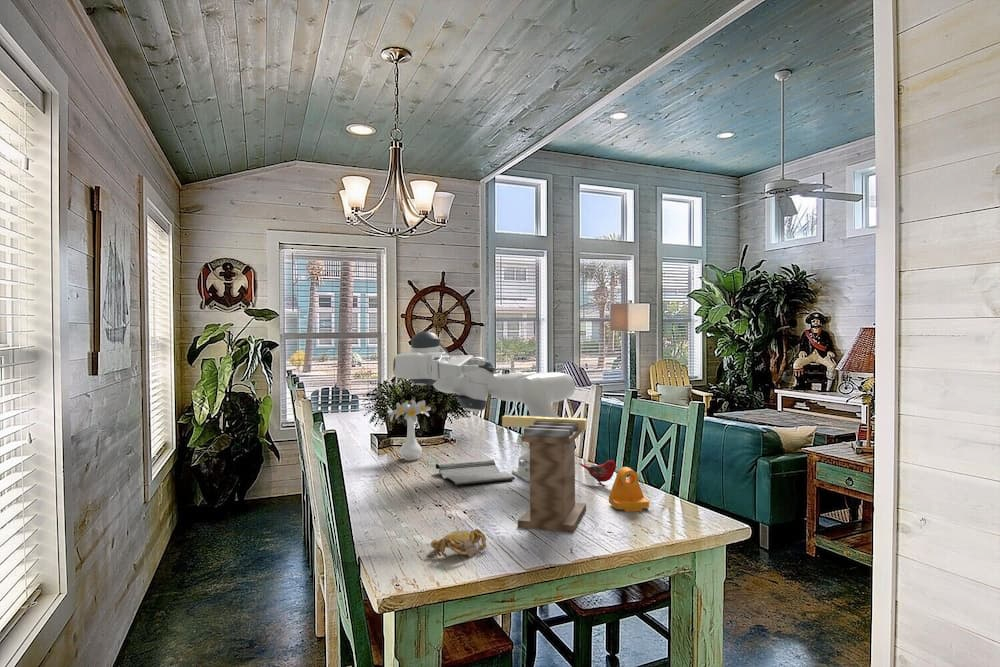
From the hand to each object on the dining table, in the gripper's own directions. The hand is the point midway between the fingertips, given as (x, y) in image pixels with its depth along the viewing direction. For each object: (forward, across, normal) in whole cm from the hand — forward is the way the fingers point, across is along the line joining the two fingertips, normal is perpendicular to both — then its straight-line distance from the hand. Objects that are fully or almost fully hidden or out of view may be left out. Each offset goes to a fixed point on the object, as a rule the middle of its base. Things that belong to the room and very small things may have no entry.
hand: (481, 365), depth 199 cm
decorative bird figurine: (+36, -20, -48) cm, 63 cm away
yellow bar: (+21, +9, -18) cm, 29 cm away
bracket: (+46, +4, -45) cm, 65 cm away
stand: (+24, +18, -43) cm, 52 cm away
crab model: (+2, +47, -40) cm, 62 cm away
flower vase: (-44, -48, -49) cm, 82 cm away
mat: (-10, -24, -48) cm, 54 cm away
